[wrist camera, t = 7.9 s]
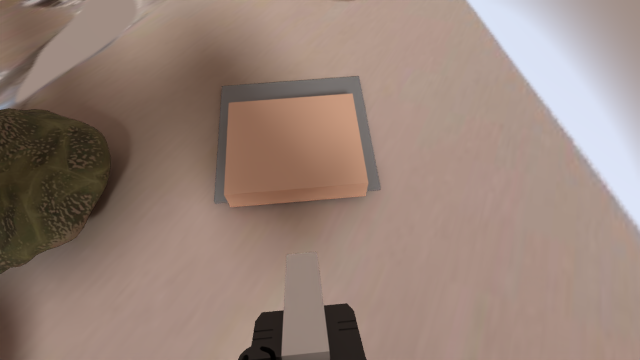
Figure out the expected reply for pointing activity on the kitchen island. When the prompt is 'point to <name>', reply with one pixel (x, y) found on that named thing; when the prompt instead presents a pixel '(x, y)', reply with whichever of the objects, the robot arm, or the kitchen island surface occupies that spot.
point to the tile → (293, 151)
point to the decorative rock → (46, 181)
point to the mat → (294, 91)
